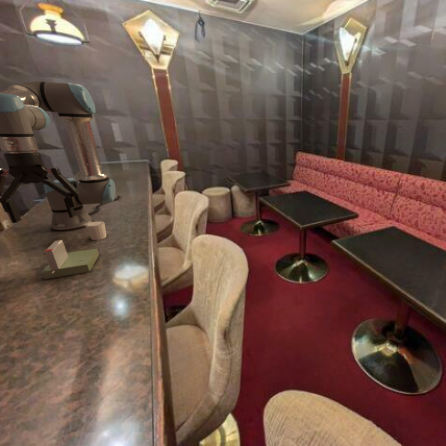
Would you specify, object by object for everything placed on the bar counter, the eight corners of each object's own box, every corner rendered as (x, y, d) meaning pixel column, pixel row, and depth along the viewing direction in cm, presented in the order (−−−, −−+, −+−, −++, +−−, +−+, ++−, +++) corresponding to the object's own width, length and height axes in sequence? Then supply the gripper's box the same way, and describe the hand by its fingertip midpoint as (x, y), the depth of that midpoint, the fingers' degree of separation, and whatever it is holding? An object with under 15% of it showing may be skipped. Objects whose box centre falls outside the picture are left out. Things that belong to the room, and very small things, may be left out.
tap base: (49, 262, 92) (46, 255, 91) (98, 255, 98) (96, 248, 97) (28, 285, 79) (25, 277, 78) (87, 275, 85) (85, 267, 84)
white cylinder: (97, 241, 109) (93, 227, 107) (85, 239, 110) (80, 225, 108) (111, 235, 116) (108, 221, 113) (99, 233, 117) (95, 220, 114)
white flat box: (61, 258, 90) (54, 240, 87) (68, 257, 90) (62, 239, 88) (51, 270, 82) (43, 251, 79) (58, 269, 83) (51, 250, 80)
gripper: (-51, 153, 64) (-16, 228, 72) (71, 152, 75) (90, 217, 82) (-31, 151, 71) (-1, 219, 78) (79, 150, 81) (96, 211, 89)
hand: (46, 218), depth 80 cm, fingers open, 13 cm apart
